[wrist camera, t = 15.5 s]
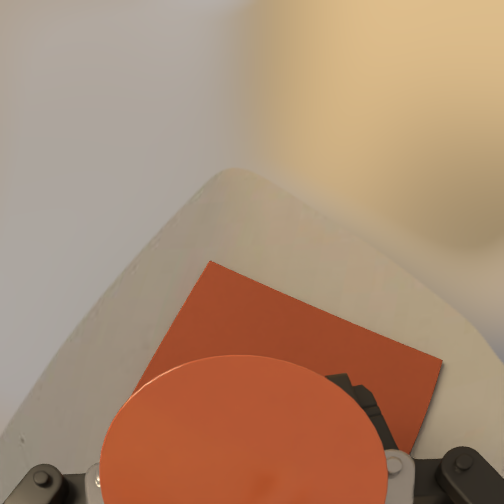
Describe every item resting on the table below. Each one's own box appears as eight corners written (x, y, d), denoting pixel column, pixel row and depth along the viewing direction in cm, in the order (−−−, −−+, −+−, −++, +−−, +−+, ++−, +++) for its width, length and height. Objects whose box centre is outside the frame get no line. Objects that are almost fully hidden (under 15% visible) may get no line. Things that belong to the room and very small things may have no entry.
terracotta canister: (182, 457, 12) (64, 511, 4) (231, 369, 14) (176, 305, 6) (279, 502, 11) (301, 622, 2) (328, 412, 13) (431, 414, 4)
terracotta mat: (103, 451, 14) (100, 452, 14) (210, 262, 20) (209, 260, 19) (345, 559, 10) (346, 562, 10) (439, 361, 16) (443, 360, 16)
